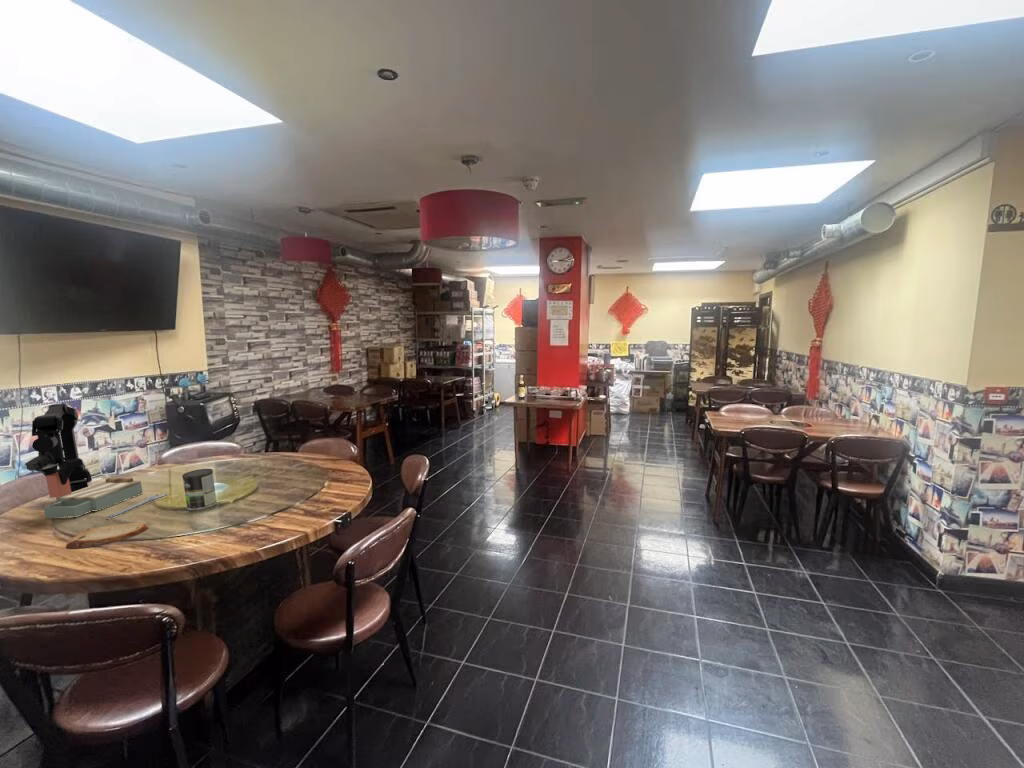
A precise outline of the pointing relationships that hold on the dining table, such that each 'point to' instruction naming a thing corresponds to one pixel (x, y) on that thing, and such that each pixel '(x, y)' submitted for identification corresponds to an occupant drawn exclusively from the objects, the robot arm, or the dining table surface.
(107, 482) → the slatted box lid
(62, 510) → the grey-green open box
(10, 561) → the dining table surface
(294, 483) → the dining table surface
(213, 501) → the coffee can
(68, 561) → the dining table surface
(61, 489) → the red rectangular block
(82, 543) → the bread slice
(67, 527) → the dining table surface
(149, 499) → the adjustable wrench
